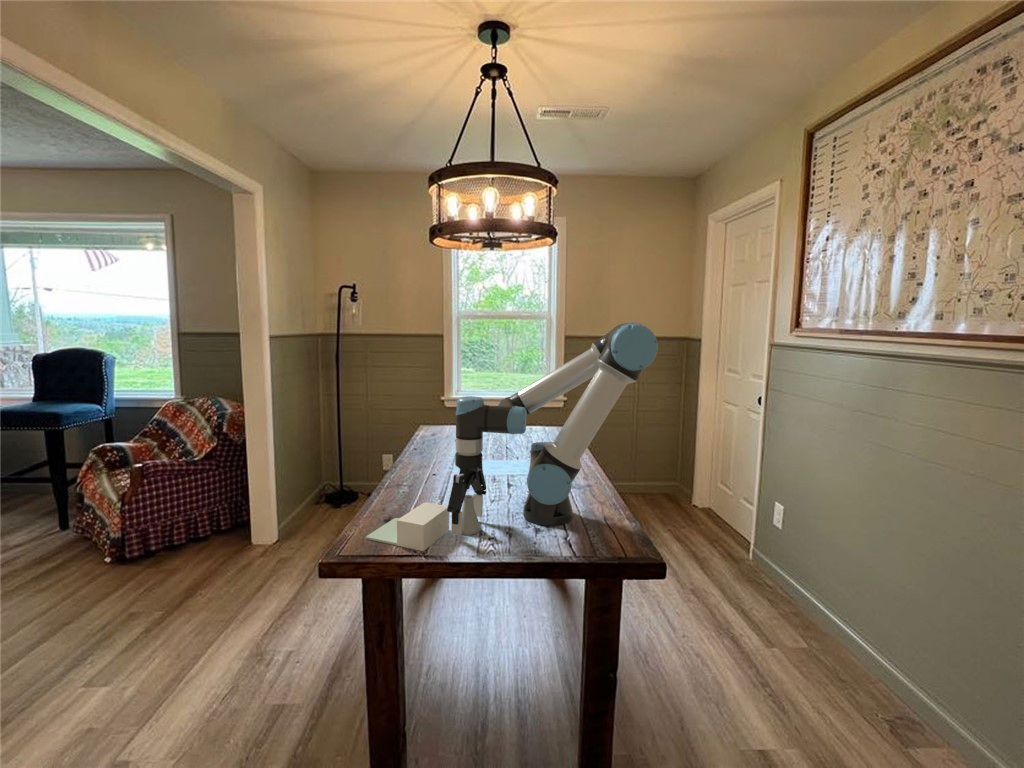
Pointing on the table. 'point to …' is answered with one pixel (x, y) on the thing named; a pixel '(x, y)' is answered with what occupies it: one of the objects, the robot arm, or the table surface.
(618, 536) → the table surface
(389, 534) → the mat
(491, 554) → the table surface
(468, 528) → the flask
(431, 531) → the block
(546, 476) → the robot arm
